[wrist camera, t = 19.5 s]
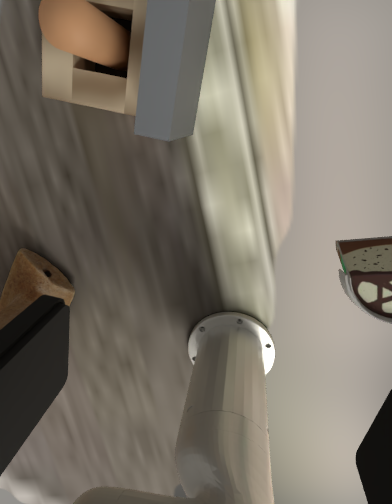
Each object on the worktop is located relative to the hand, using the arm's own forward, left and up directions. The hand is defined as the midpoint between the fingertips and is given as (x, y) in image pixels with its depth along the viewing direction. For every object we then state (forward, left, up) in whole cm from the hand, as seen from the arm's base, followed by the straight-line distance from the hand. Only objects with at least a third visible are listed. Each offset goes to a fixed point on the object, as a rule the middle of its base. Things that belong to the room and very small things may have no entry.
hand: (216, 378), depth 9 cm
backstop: (+11, +8, -32) cm, 35 cm away
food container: (-6, -18, -32) cm, 38 cm away
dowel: (+11, +16, -32) cm, 38 cm away
